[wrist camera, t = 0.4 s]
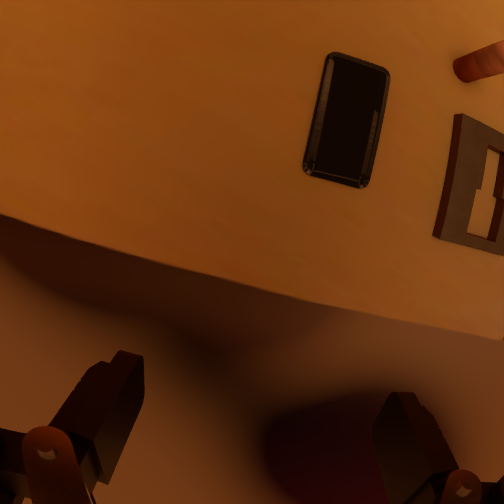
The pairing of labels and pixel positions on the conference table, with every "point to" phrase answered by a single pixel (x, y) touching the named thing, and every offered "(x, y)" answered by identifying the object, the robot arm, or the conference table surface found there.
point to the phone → (347, 120)
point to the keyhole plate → (470, 185)
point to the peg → (480, 63)
